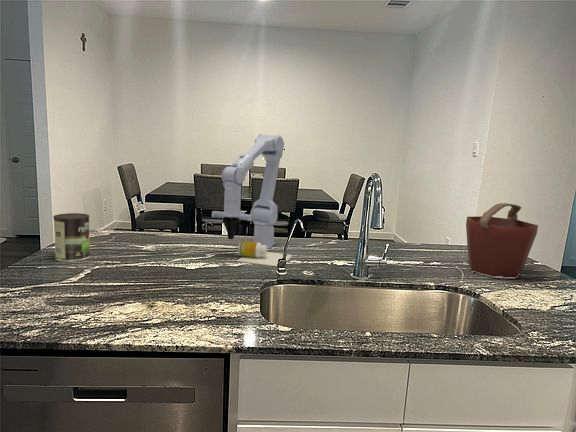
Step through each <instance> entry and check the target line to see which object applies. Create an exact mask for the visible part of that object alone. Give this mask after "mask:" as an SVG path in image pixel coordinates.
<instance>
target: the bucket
mask: <svg viewBox="0 0 576 432" xmlns="http://www.w3.org/2000/svg"><path fill="white" fill-rule="evenodd" d="M505 207H511V208H510V209H509V210H508V212H507V217H506V218H504V217H495V216H494V215H496V214H497V213H498V212H500V211H501V210H502V209H503V208H505ZM521 209H522V206H520V205H518V204H512V203H506V202H504V203H503V202H501V203H500V202H499V203H495V204H494V205H493V206H492V207H490V208H489V209H488V210H486V211H485V212H483V214H482V215H481V216H480V215H479V216H466V221H465V222H466V223H465V228H466V229H465V231H466V232H465V233H466V245H467V246H466V247H467V260H468V267H469V266H470V268H471V270H473V271H476V272H480V273H483V274H487V275H491V276H503V277H517V276H518V275H519V274H520V273H521V274H522V273H523V270H524V267H525V265H526V262H527V259H528V257H529V254H530V252H531V249H532V247H533V244H534V242H535V240H536V239H535V238H536V237H537V235H538V229H539V225H538V224H534V223H531V222H527V221H522V220H520V219H518V212H520V211H521ZM470 268H469V269H470ZM471 270H470V271H471Z"/></svg>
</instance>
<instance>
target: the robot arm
mask: <svg viewBox="0 0 576 432" xmlns="http://www.w3.org/2000/svg"><path fill="white" fill-rule="evenodd" d="M284 148H285V141H284V140H283V137H282V136H281V135H280V134H276V135H273V134H271V135H270V134H258V135H257V136H256V137H255V138H254V144H253V145H252V146H251V147H250V149H249V150H248V152H246V153H241V154H240V155H239V156H238V158H236V160H235V161H234V162H233V163H232V164H231V165H230V166H226V167H225V168H224V169H223V170H222V174H220V176H221V180H222V184H223V185H222V186H223V188H224V194H223V196H224V200H223V203H224V204H223V211H220V210H213V211H212V212H211V217H212V218H220V219H221V218H222V223H223V225H224V227H225V230H226V233H227V239H228V240H233V239H234V238H235V234H236V232H237V229H238V227H239V224H240V223H241V220H242V221H247V222H249V221H250V222H251V221H252V223H253V224H254V228H253V229H254V230H253V242H257V243H260V244H261V245H267V249H271V247H273V246H274V245H275V244H276V241H274V237H275V227H274V225H275V224H276V222H277V220H278V217H279V214H278V210H279V209H278V205H277V204H276V203H275V201H273V199H274V195H275V190H276V184H277V179H278V174H279V167H280V163H281V159H282V158H283V154H284ZM260 155H261V156H262V157H264V158H265V160H266V162H265V168H264V172H263V179H262V185H261V189H260V190H261V191H260V195H259V198H258V199H257V200H256V201H254V202H253V205H252V208H251V210H250V214H247V213H243V212H241V204H242V203H241V201H242V197H241V194H242V184H243V183H244V182H245V179H246V176H247V174H248V172H249V171H250V170H251V169H252V168H253V166H254V165H255V164H254V163H255V160H256V159H257V158H258V157H260Z"/></svg>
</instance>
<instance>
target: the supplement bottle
mask: <svg viewBox="0 0 576 432" xmlns="http://www.w3.org/2000/svg"><path fill="white" fill-rule="evenodd" d="M267 252H268V248H267V245H261V244H260V243H257V242H254V241H244V240H240V241H239V242H238V246H237V255H238V257H243V256H245V257H256V258H258V257H260V255H261V256H266V255H267Z"/></svg>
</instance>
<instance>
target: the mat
mask: <svg viewBox="0 0 576 432" xmlns="http://www.w3.org/2000/svg"><path fill="white" fill-rule="evenodd" d="M283 254H284V253H278V252H273V251H272V252H271V251H270V252H269V251H267V255H266V256H261V255H260V257H258V258H256V257H245V256H240V258H239V259H237V260H236V263H242V264H243V263H244V264H250V265H258V266H265V267H272V266H275V268H277V267H276V266H277V263H278V260H279V259H282V258H283ZM286 254H287V253H286ZM293 257H294V255H293V254H289V253H288V254H287V256H286V261H287V262H288V261H289V260H290V259H292V258H293Z"/></svg>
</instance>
